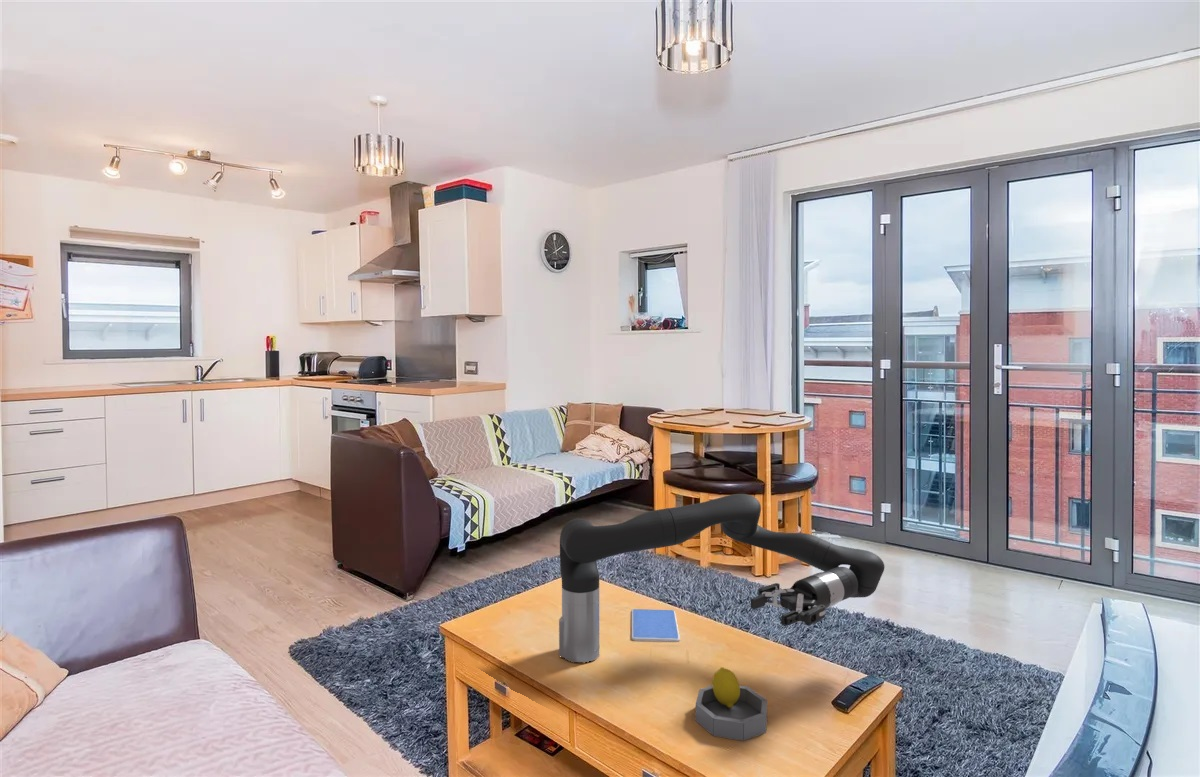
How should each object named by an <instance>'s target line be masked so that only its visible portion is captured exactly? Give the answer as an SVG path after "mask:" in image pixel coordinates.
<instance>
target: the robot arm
mask: <svg viewBox="0 0 1200 777" xmlns="http://www.w3.org/2000/svg"><path fill="white" fill-rule="evenodd" d="M761 511H762V506H761V503H760V500H758V499H757V498H756V497H755V496H753V495H751V494H746V493H733V494H730V495H724V496H722V497H719V498H715V499H711V500H707V501H703V502H698V503H692V504H687V505H681V506H677V507H676V506H675V507H667V508H660V509H655V510H650V511H646V512H643V513H641V514H639V515H636V516H634V517H633V518H630V519H627V520H626V521H623V522H621V523H617V524H616V523H615V524H608V525H607V524H605V525H596V526H595V525H593V524H592V522H590V521H589V520H587V519H585V518H580V517H579V518H573V519H571V520H569V521H567V522H565V524H564V525H563V527H562V528H561V532H560V535H559V567H560V577H561V616H560V618H559V620H558V653H559V654H558V657H559V656H561V657H564V658H565V659H564V658H563V659H564V660H566V659H567V660H569V661H568V662H570V661H572V662H571V663H574V662H587V663H590V662H589V661H591V662H593V661H595V660H596V659H598V657H599V656H600V573H599V569H598V562H597V561H600V560H603V559H606V558H610V557H613V556H617V555H621V554H626V553H633V552H635V553H636V552H641V551H646V550H652V549H661V548H662V549H663V548H666V547H673V546H678V545H680V544H684V543H685V542H687V541H688V540H691V539H692V538H694V537H695V536H697V535H699V534H700V533H701V532H702V531H704V530H706V529H708V528H710V527H712V526H715V525H719V524H720V529H721V531H722V532H723V534H724V535H725V536H727V537H729V538H730V539H731V540H734V541H737V542H739V543H742V544H746V545H750V546H752V547H753V546H754V547H756V548H760V549H763V550H765V551H770V552H774V553H778V554H780V555H785V556H787V557H790V558H793V559H796V560H797V561H799V562H803V563H805V564H807V565H809V566H812V567H814V568H816V569H818V570H820V571H821V572H818V573H814V574H812V575H809V576H806V577H804V578H800V579H798V580H796V581H795V582H794V583H793V584H792V585H791V587H790V588H783V589H782V587H781V586H780V583H778V582H776V583H775V582H774V583H772V584H768V585H765V586H763V587H760V588H758V589H757V596H755V597H752V598H751V599H750V608H751V609H753V610H754V611H755V610H757V609H760V608H762V607H764V606H766V605H767V606H773V607H774V608H784V609H787V610H788V611H789V612H786V613H783V614H782V615H781V616H780V625H781V626H783V627H786V626H790V625H793V624H795V623H799V624H801V623H804V625H805V626H812V625H813V624H815V623H817V622H819V621H821V620H823V619H825V618H826V609H829V608H831V607H833V606H835V605H837V604H838V603H840V602H841V601H844V600H847V599H849V598H852V599H853V598H867V597H870V596H872V595H873V593H874V592H876V590H877V589H878V588H877V587H878V585H879V584H880V581H881V578H882V576H883V574H884V571H885V567H886V566H885V563H884V561H883V560H882V558H881V557H880V556H878V555H877V554H876V553H874V552H872V551H869V550H864V549H859V548H852V547H848V546H843V545H838V544H834V543H832V542H830V541H828V540H825V539H823V538H820V537H818V536H816V535H813V534H810V533H806V532H804V533H803V532H780V531H779V532H778V531H772V530H770V529H768V528H765V527H762V526H761V525H759V522H760V518H761V513H762V512H761ZM842 565H846V566H849V568H848V567H846V566H842ZM778 597H779V599H780V600H779V602H778ZM769 599H770V600H769ZM771 599H772V600H771ZM561 657H560V658H561ZM567 660H566V661H567Z"/></svg>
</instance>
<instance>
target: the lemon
mask: <svg viewBox="0 0 1200 777" xmlns="http://www.w3.org/2000/svg"><path fill="white" fill-rule="evenodd" d="M711 682H712V685H713V691H714V695H715V697H716V699H717V700H718V701H719V702H720V703H721V704H724V705H726V706H727V707H729V708H732V707H733V705H734V703H736V702H737V701H738V699H739V696H740V686H741V685H740V683H739V680H738V678H737V676H736V675H735V673H734V672H733V671H732V670H730V669H728V668H725V667H722V666H721V667H720V668H719V669H717V671H716V672H715V673H714V674H713V677H712V681H711Z"/></svg>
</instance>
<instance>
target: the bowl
mask: <svg viewBox="0 0 1200 777" xmlns="http://www.w3.org/2000/svg"><path fill="white" fill-rule="evenodd" d="M739 686H740V696H739V699H738V701H737V702H736V703H734V705H733V707H732V708H729V707H727V706H726V705H724V704H721V703H720V702H719V701H718V700H717V699H716V697H715V695H714V691H713V684H712V685H709V686H706V687H703V688H700V689H699V690H698V693H697V698H696V701H695V708H694V709H695V710H694V712H695V713H694V714H695V716H694V717H695V722H696V723H697V724H698V725H700V726H701V728H702V727H703V729H704V730H706V731H707V732H708V733H709V734H711V735H712V736H713V737H718V738H724V739H730V740H735V741H740V742H745V741H748V740H750V739H752V738H756V737H757V736H758V737H759V736H761V735H763V734H766V733H767V721H768V720H767V719H768V699H767V698H765V697H764V696H762V695H761V694H759V693H758V692H756V691H755V690H754V689H752V688H751V687H750V686H746V685H745V686H743V685H739Z"/></svg>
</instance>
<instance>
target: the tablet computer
mask: <svg viewBox="0 0 1200 777" xmlns="http://www.w3.org/2000/svg"><path fill="white" fill-rule="evenodd" d="M680 639H681V637H680V632H679V626H678V620H677V614H676V611H675V610H673V609H650V608H649V609H643V608H641V609H640V608H633V609H632V610H631V640H632V641H636V642H666V643H667V642H668V643H671V642H673V643H674V642H675V643H677V642H680Z"/></svg>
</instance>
